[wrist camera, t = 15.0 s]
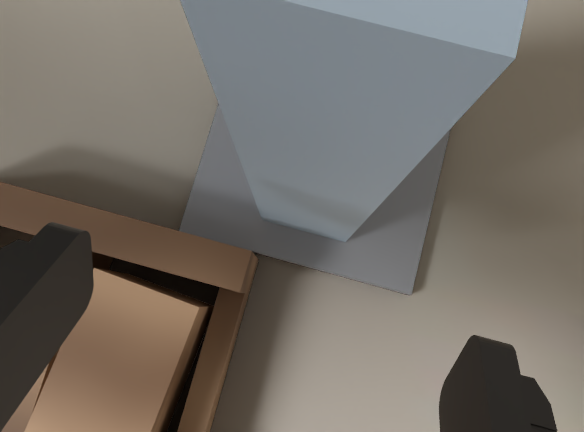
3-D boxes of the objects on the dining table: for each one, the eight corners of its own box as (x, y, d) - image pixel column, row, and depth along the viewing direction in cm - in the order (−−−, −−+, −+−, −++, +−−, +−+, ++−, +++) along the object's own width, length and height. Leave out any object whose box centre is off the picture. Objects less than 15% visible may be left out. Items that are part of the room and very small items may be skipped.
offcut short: (161, 446, 22) (132, 479, 18) (71, 411, 22) (22, 435, 18) (215, 306, 22) (199, 307, 18) (128, 273, 23) (94, 268, 19)
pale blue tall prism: (345, 242, 22) (515, 58, 5) (261, 220, 22) (169, -29, 5) (384, 88, 23) (629, -473, 6) (304, 68, 23) (337, -533, 6)
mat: (181, 232, 23) (178, 231, 22) (246, 24, 24) (245, 16, 24) (408, 294, 22) (411, 294, 22) (459, 78, 24) (463, 73, 23)
